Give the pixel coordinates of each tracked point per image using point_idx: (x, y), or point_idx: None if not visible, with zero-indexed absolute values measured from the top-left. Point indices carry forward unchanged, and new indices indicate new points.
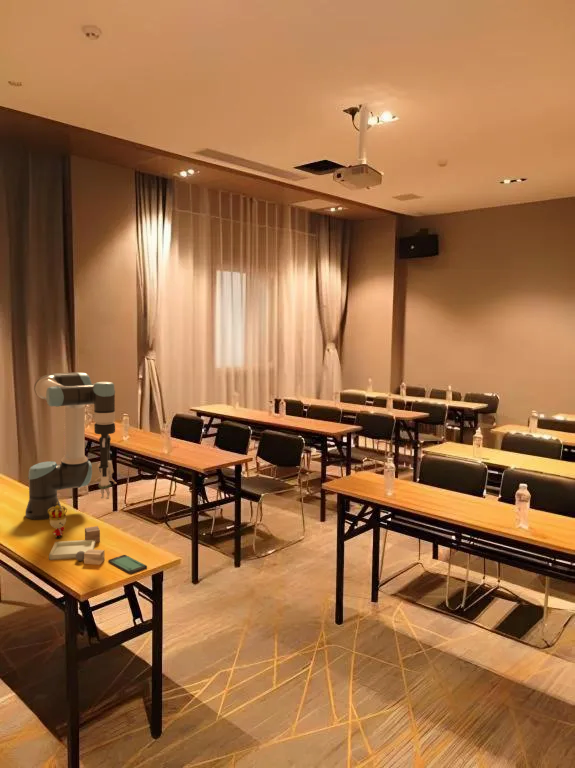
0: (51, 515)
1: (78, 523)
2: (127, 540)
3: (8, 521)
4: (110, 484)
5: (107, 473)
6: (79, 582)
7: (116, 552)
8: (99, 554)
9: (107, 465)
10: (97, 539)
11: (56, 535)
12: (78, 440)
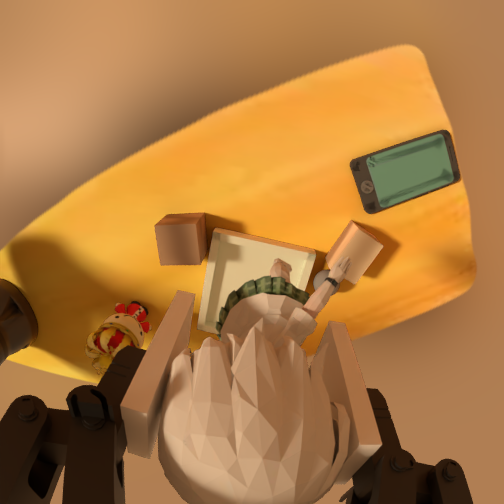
0: None
1: (57, 252)
2: (222, 129)
3: (47, 369)
4: (285, 292)
5: (363, 399)
6: (436, 289)
7: (310, 178)
8: (382, 247)
9: (456, 476)
10: (203, 222)
11: (144, 318)
12: None
